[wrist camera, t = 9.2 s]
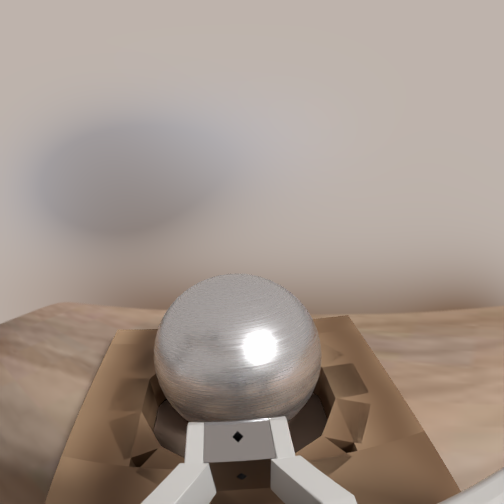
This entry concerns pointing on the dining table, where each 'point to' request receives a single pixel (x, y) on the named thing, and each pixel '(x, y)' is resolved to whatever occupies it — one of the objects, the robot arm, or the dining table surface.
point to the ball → (237, 351)
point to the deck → (317, 453)
